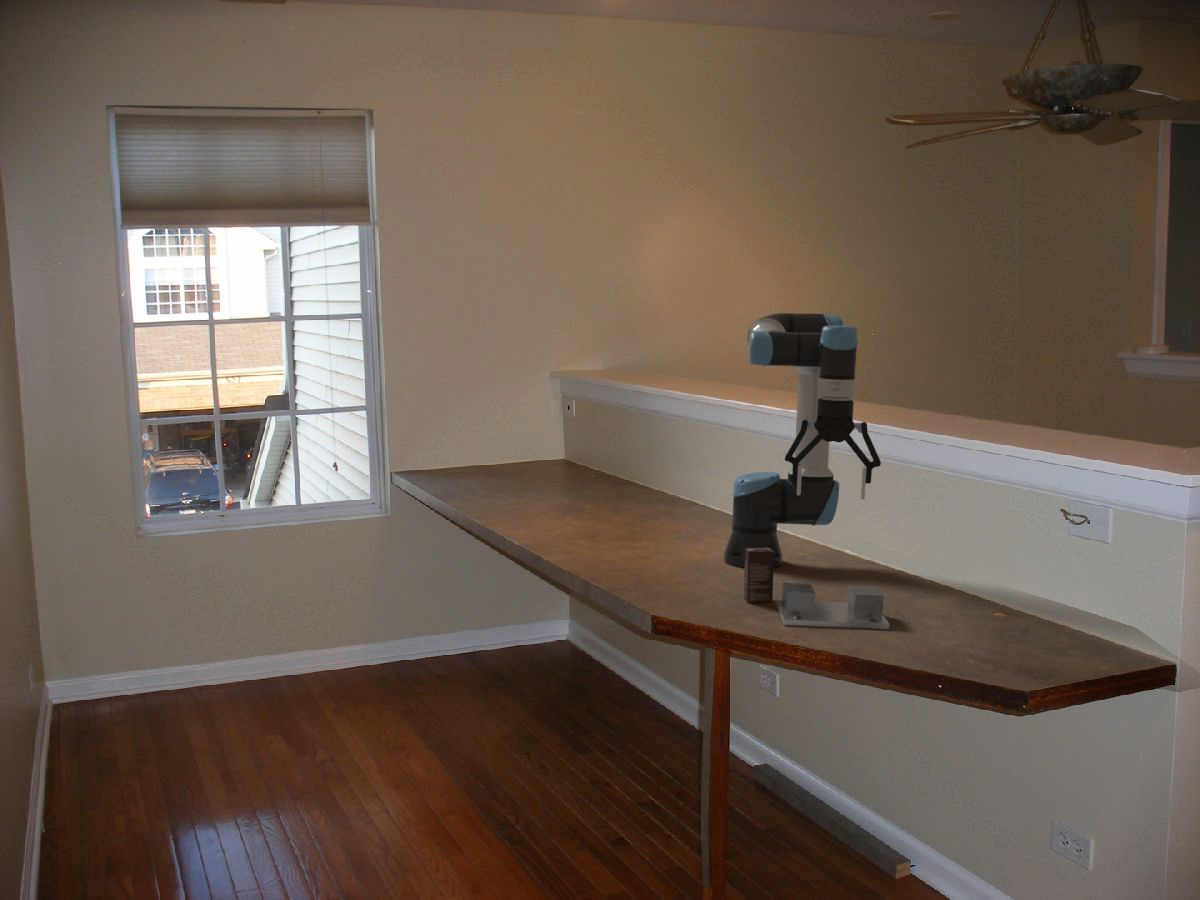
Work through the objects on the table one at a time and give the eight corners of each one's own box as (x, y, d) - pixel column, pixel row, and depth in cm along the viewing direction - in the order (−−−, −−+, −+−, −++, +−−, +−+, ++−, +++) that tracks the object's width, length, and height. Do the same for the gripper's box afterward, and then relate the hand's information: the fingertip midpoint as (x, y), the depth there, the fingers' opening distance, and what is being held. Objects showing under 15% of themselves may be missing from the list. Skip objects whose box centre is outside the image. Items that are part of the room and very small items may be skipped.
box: (767, 598, 265) (770, 547, 263) (772, 603, 260) (775, 551, 259) (742, 598, 264) (744, 546, 263) (746, 603, 260) (749, 551, 258)
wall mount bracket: (776, 604, 259) (777, 578, 258) (874, 608, 258) (876, 581, 257) (784, 625, 243) (785, 596, 243) (889, 629, 242) (890, 600, 242)
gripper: (775, 397, 244) (771, 495, 247) (896, 402, 239) (890, 503, 242) (778, 394, 252) (773, 489, 255) (895, 399, 246) (889, 496, 249)
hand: (830, 496), depth 248 cm, fingers open, 13 cm apart
